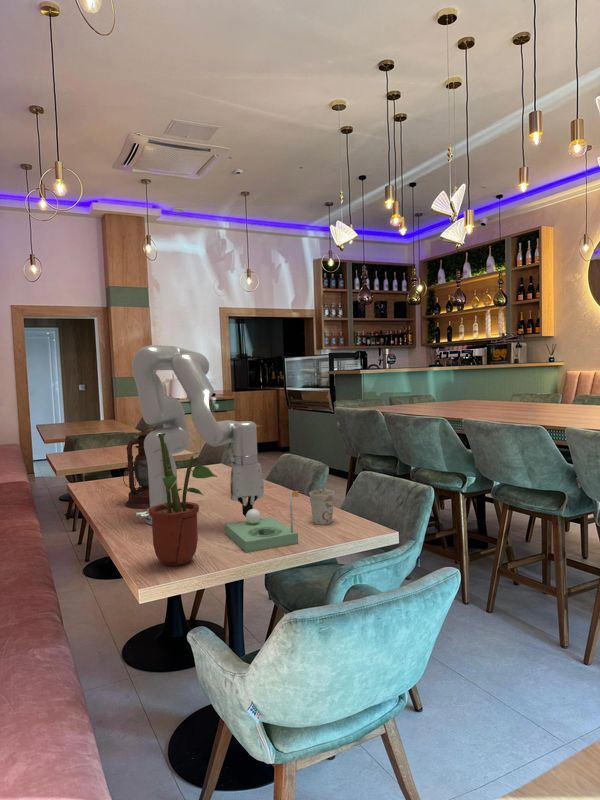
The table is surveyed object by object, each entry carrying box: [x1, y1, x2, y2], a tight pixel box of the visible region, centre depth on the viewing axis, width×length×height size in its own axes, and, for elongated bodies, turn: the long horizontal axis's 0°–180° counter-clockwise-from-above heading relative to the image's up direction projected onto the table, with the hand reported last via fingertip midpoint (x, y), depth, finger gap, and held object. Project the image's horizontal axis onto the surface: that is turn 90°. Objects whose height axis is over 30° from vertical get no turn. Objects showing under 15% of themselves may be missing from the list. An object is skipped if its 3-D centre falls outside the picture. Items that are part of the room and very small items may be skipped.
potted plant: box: [149, 433, 218, 567], centre depth 150 cm, size 17×16×35 cm
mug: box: [308, 489, 336, 526], centre depth 184 cm, size 8×13×10 cm, turn 27°
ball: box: [245, 508, 262, 524], centre depth 172 cm, size 5×5×5 cm
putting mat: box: [224, 490, 300, 553], centre depth 167 cm, size 17×20×15 cm
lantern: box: [122, 426, 157, 510], centre depth 215 cm, size 19×19×30 cm
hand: (247, 516), depth 178 cm, fingers closed
